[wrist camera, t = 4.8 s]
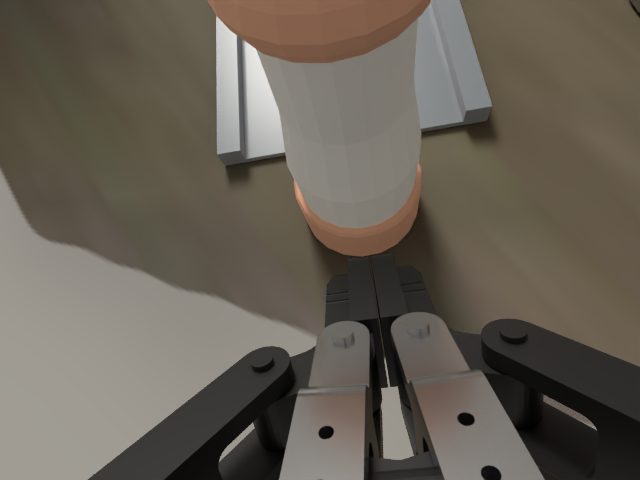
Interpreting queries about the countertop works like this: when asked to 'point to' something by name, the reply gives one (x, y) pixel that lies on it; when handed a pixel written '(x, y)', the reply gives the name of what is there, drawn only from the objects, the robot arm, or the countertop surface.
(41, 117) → the countertop surface
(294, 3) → the pepper shaker
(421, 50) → the tray
